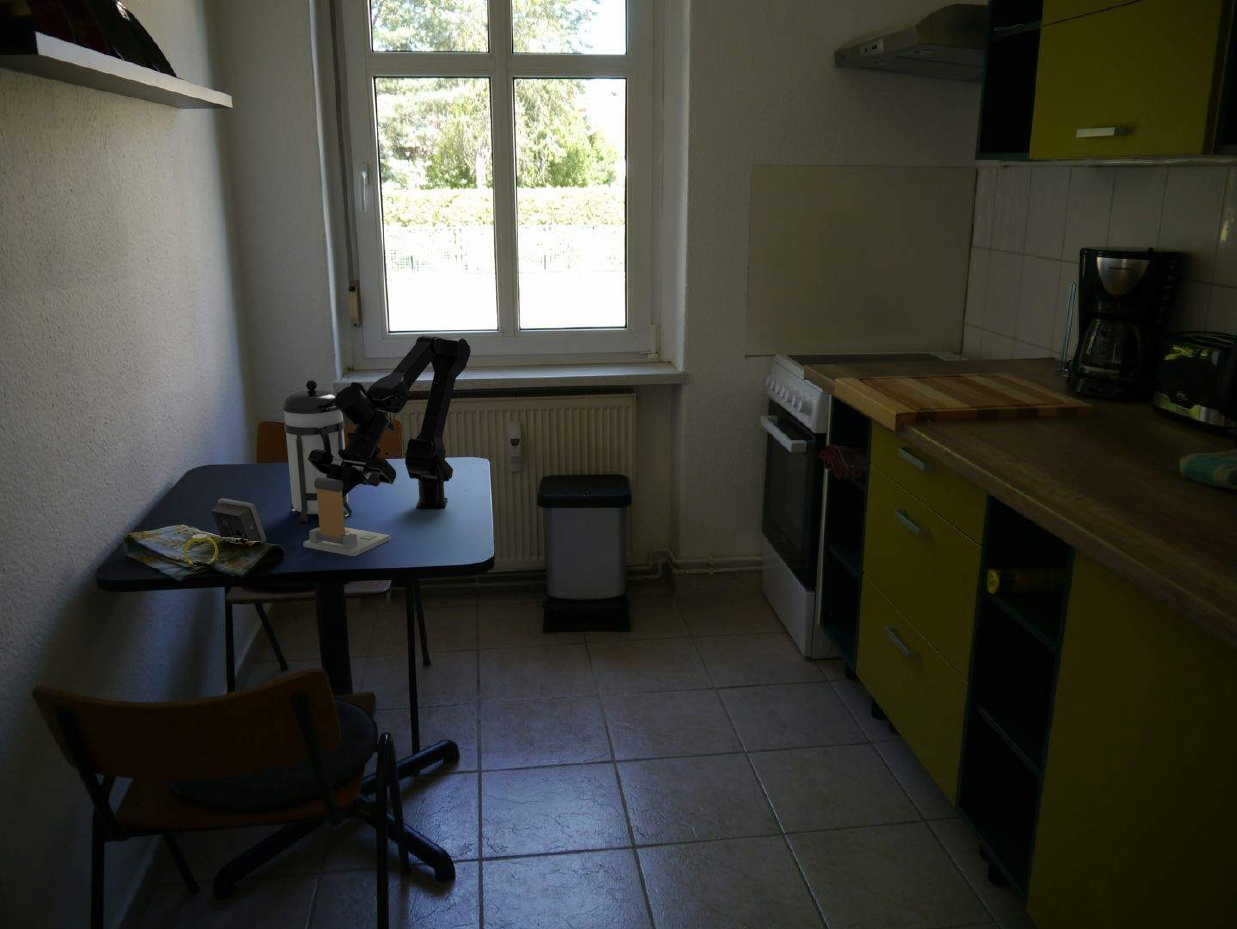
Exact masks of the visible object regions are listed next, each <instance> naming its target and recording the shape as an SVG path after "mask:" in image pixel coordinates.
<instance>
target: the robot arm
mask: <svg viewBox="0 0 1237 929" xmlns="http://www.w3.org/2000/svg"><path fill="white" fill-rule="evenodd" d="M470 356H471V346H470V345H469V344H468V341H467V340H466V339H465V338H458V337H448V336H447V337H446V336H435V335H421V336H418V337H417V339H416V341H415V343H414V345H413V346H412V348H411V349H410V350H409V351H408V353H407V354H406V355H405V356H404V358H402V360H401V361H400V362H399V363H398V365H397V366H396V367H395V368H394V369H393V371H391V373H390V374H388V375H385V376H383V377H381V378H379V379H377V380H376V381H375V382H374V383H372V385H370V386H369V388H368V389H367V390H366V389H365V387H364V385H363V384H362V383H361V382H355V381H351V383H350V385H349V386H346V387H345V388H343V389H341V390H340V391H339V392H338V393H336V394H337V395H336V397H335V405H336V407H337V408H338V409H339V410H340V411H341V412H342V414H343V415H344V416H345V418H347V420H348V421H349V422H350V423H352V424H353V425H356V426H355V427H354V430H353V432H349V431H347V434H346V438H347V439H348V442H347V443H346V444H345V449H344V450H342V449H339V451H338V454H339V455H340V456H341V458H339V457H334V456H333V455H332V454H331V453H330V452H329V451H325V450H318V449H315V450H312V451H311V453H310V454H309V456H308V458H307V460H308V461H309V462H310V463H311V464H312V465H313V466H314V467H315V468H317V469H318V470H319V471H320V472H321V473H323V474H329V475H331V479H335V480H341V481H342V482H343V489H342V498H343V497H344V496H345V495H346V494H347V493H348V494H349V493H350V492H351V490H353V489H354V488H355V487H357V486H358V485H363V486H373V487H374V488H375V487H376V488H377V487H378V486H379V485H380V484H381V483H383V484H390V485H393V484H394V482H395V480H396V479H397V478H396V477H397V470H396V469H395V468H394V467H393V465H391V463H390V462H389V461H388V460H387V459H386V458H382V457H381V458H380V457H379V456H380V454H381V448H380V447H379V445H380V444H381V441H382V440H383V437H384V435H385V432H386V431H388V432H389V431H391V432H393V431H394V430H395V426H394V423H393V421H392V420H393V419H392V417H387V416H386V415H385V413H390V414H399V413H400V412H402V410H404V408H405V406H406V404H407V402H408V401H409V399H410V389H411V387H412V385H413V384H414V383H415V382H416V381H417V380H418V378H419V377H421V375H422V374H423V372H424V371H425V370H426V368H427V367H428V366H429V364H430V363H431V367H432V369H433V376H432V377H433V378H432V380H431V382H432V383H431V384H430V385H431V386H430V390H429V394H428V398H427V402H426V406H425V407H426V408H425V412H424V416H423V420H422V424H421V428H420V431H419V434H418V435H416V437H415V438H409V440H408V442H407V448H406V451H405V452H404V456H405V459H404V465H405V467H406V471H407V474H408V476H409V479H410V480H411V479H412V480H413V479H414V480H417V481H418V500H417V503H416V506H415V507H416V509H443V508H446V506H447V503H448V497H445V482H449V481H450V480H451V479H453V474H454V473H453V472H454V468H453V467H452V466H451V465H450V463H449V462H448V461H447V460H446V455H447V454H446V453H447V452H446V448H445V445H444V444H445V443H444V442H443V435H444V431H445V426H446V422H447V417H448V414H449V409H450V405H451V401H452V395H453V393H454V387H455V383H456V379H457V378H458V377H459V375H461V373H463V371H464V370H465V369H466V367H467V365H468V361H469V358H470Z"/></svg>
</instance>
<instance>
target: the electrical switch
mask: <svg viewBox="0 0 1237 929" xmlns="http://www.w3.org/2000/svg"><path fill="white" fill-rule="evenodd" d="M217 503H218V504H217V505H216V506H215V507H214V508H213V509H211V510H210V512H211V514H212V517H213V521H214V522H215V525H216V528H217V530H218V533H219V536H220V538H221V537H234V538H244V539H248V541H261V542H264V543H265V542H266V541H267V537H266V533H265V530H264V528H263V525H262V522H261V519H260V517H259V514H258V511H257V508H256V505H255V504H254V503H251V502H247V501H240V500H235V499H230V498H224V497H221V498H219V499H217Z"/></svg>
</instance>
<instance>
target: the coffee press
mask: <svg viewBox="0 0 1237 929" xmlns="http://www.w3.org/2000/svg"><path fill="white" fill-rule="evenodd" d="M317 386H318V384H317V382H316V381H315V380H313V379H310V380H308V381H307V382H306V385H305V387H306V388H307V389H306V390H300V391H296V392H293V393H291V394H289V395H287V397H285V399H284V402H283V404H282V405H281V410H282V412H284V414H283V415H284V422H283V423H284V432H285V436H286V446H287V457H288V458H287V460H288V468H289V470H288V471H289V481H290V483H289V484H290V492H291V503H292V504H291V505H290V510H291V511H292V512H296V511H297V512H299V513H300V515H299V519H298V520H299V522H300V523H303V524H304V523H306V524H307V523H308V522H309V520H310V517H312V515H319V513H318V501H317V489H316V488H315V485H314V482H315V480H316V478H318V477H322V478H329V479H331V475H329V474H323V473H321V472H320V471H319V470H318V469H317V468H315V467H314V466H313V465H312V464H311V463H310V462H309V461H308V460H307V458H308V456H309V454H310V453H311V451H312V450H315V449H318V450H325V451H329V452H330V453H331V454H332V455H333V456H334V457H339V458H341V456H340V455H339V454H338V451H339V449H342V450H344V449H345V447H346V444H345V431H344V429H345V420H344V416H343V415H344V414H343V413H342V412H341V411H340V410H339V409H338V408H337V407H336V405H335V397H336V395H337V394H338V393H336V392H334V391H331V390H326V389H325V390H324V389H317V388H318V387H317ZM348 503H349V493H347V494H346V495H345V496H344V497H343V511H344V518H348V517H349V516H351V515H352V514H353V510H352V509H351V507H350V506H349V504H348ZM344 509H345V510H346V511H345V510H344Z"/></svg>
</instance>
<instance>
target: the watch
mask: <svg viewBox="0 0 1237 929" xmlns="http://www.w3.org/2000/svg"><path fill="white" fill-rule="evenodd" d="M204 541H208V542H211V544H213V545H214V553H213V556H212V557H214V558H216V559H217V558H218V555H219V549H218V545H217V543H216V542H215V541H214V540H213V539H212V538H211V537H210V536H208V534H207V533H197V534H194V535H192V536H191V539H189V540H188V541H186V543H185V545H184V547H183V556H184V559H185V561H186V562H187V563H188V564H189V565H190V566H192V565H191V564H193V563H194V562H193V561H191V560H190V559H189V557H188V550H189V547H190V546H191V545H192V544H193V543H194V542H204ZM192 562H193V563H192Z"/></svg>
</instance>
